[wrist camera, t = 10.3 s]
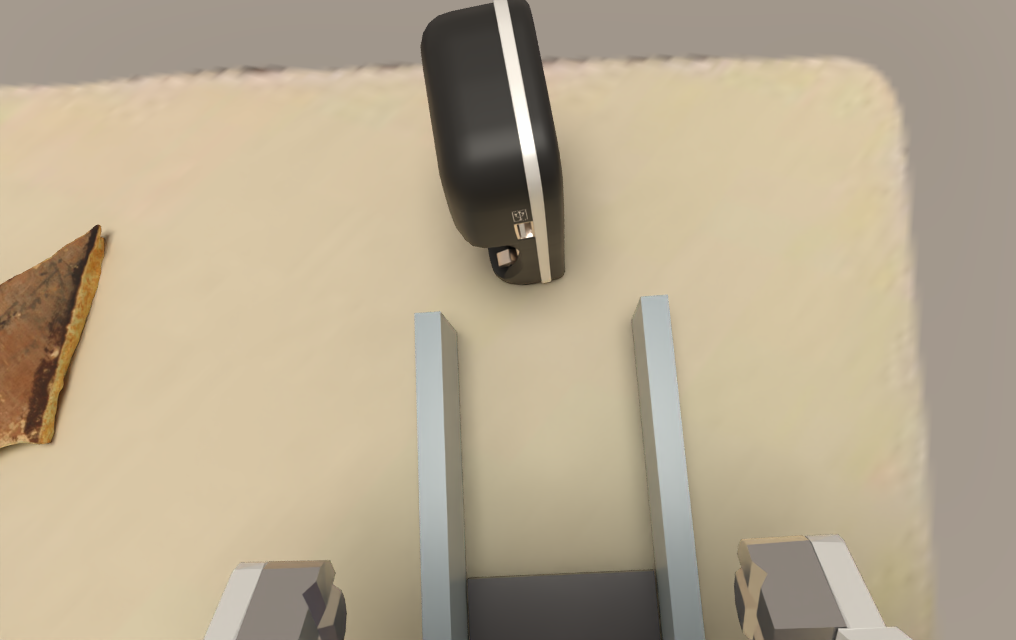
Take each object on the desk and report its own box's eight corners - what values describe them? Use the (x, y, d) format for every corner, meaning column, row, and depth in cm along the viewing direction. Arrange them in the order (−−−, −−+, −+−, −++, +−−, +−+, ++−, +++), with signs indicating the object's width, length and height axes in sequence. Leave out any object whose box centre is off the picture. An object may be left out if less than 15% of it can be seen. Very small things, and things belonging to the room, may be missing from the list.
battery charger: (458, 156, 32) (400, -10, 21) (539, 141, 32) (523, -36, 21) (482, 300, 31) (432, 201, 20) (567, 284, 30) (565, 175, 19)
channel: (654, 317, 30) (667, 294, 26) (691, 672, 27) (712, 705, 23) (434, 333, 30) (414, 313, 27) (445, 680, 27) (424, 714, 24)
